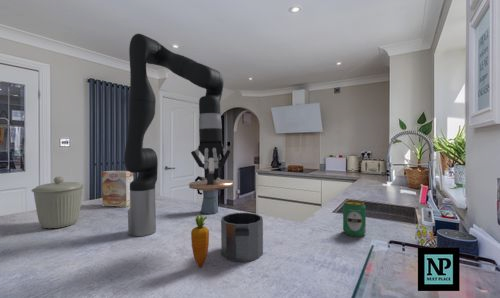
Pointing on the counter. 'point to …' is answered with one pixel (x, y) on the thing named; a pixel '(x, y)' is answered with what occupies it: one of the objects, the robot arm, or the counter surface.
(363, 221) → the beverage can
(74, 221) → the canister
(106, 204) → the coffeecake box
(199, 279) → the counter surface
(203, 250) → the carrot
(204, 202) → the moka pot
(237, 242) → the cooking pot
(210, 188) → the lid
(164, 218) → the counter surface
